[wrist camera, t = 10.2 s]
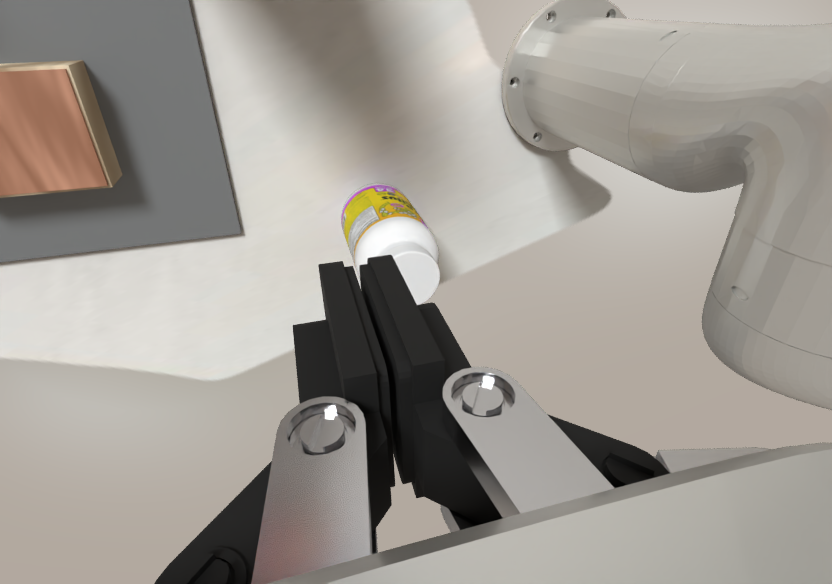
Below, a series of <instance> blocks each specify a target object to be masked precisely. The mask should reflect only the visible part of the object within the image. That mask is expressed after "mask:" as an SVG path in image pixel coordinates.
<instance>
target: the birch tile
mask: <svg viewBox="0 0 832 584" xmlns="http://www.w3.org/2000/svg"><path fill="white" fill-rule="evenodd" d="M121 176H122V172H121V169H120V166H119V163H118V160H117V157H116V154H115V151H114V149H113V146H112V143H111V140H110V137H109V134H108V131H107V128H106V125H105V122H104V120H103V117H102V114H101V111H100V108H99V105H98V102H97V99H96V96H95V93H94V91H93V88H92V85H91V82H90V79H89V76H88V73H87V70H86V67H85V64H84V61H83V60H77V61H53V62H29V63H5V64H0V198H4V197H15V196H26V195H36V194H47V193H57V192H68V191H79V190H89V189H100V188H110V187H113V186H114V185H115V184H116V182H117V181H118V180H119V179H120V177H121Z"/></svg>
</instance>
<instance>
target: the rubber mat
mask: <svg viewBox="0 0 832 584" xmlns="http://www.w3.org/2000/svg"><path fill="white" fill-rule="evenodd" d="M77 60H83V61H84V64H85V67H86V70H87V73H88V76H89V79H90V82H91V85H92V88H93V91H94V93H95V96H96V99H97V102H98V105H99V108H100V111H101V114H102V117H103V120H104V122H105V125H106V128H107V131H108V134H109V137H110V140H111V143H112V146H113V149H114V151H115V154H116V157H117V160H118V163H119V166H120V169H121V172H122V176H121V177H120V179H119V180H118V181H117V182H116V184H115V185H114V186H113V187H110V188H100V189H89V190H79V191H68V192H57V193H47V194H36V195H26V196H15V197H4V198H0V262H8V261H16V260H25V259H33V258H41V257H50V256H58V255H66V254H75V253H83V252H92V251H100V250H108V249H117V248H125V247H133V246H142V245H150V244H158V243H167V242H175V241H183V240H192V239H200V238H209V237H217V236H225V235H234V234H241V228H240V223H239V219H238V214H237V210H236V206H235V201H234V197H233V192H232V188H231V183H230V179H229V175H228V170H227V166H226V161H225V157H224V152H223V148H222V144H221V139H220V135H219V130H218V126H217V121H216V117H215V113H214V108H213V104H212V99H211V95H210V90H209V86H208V82H207V77H206V73H205V68H204V64H203V59H202V55H201V51H200V46H199V42H198V37H197V33H196V29H195V24H194V20H193V15H192V11H191V6H190V2H189V0H0V64H5V63H29V62H53V61H77Z"/></svg>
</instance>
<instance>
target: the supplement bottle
mask: <svg viewBox="0 0 832 584" xmlns="http://www.w3.org/2000/svg"><path fill="white" fill-rule="evenodd" d="M341 224H342V229H343V232H344V235H345V238H346V241H347V244H348V247H349V250H350V252H351V255H352V258H353V261H354V264H355V267H356V270H357V273H358V275H359V277H360V270H359V266H360V265H364V264H367V259H368V258H370V257H377V256H384V255H392V256H393V258H394V260H395V262H396V264H397V266H398V268H399V270H400V272H401V274H402V276H403V278H404V280H405V282H406V284H407V286H408V288H409V290H410V292H411V294H412V296H413V298H414V300H415V302H416V304H417V305H420V304H423V303H424V302H426V301H427V300H428V299H429V298H430V297H431V296H432V295H433V294H434V293H435V291H436V289H437V287H438V285H439V281H440V271H439V267H438V259H439V250H438V245H437V242H436V240H435V238H434V236H433V234H432V233H431V231H430V230H429V229H428V227H427V226H426V225H425V223H424V222H423V220H422V219H421V217H420V216H419V215H418V213H417V212H416V210H415V209H414V208H413V206H412V205H411V203H410V202H409V201H408V199H407V198H406V197H405V196H404V194H403V193H402V192H400V191H399V190H398V189H396V188H394V187H392V186H390V185H387V184H380V183H377V184H369V185H366V186H363V187H361V188H359V189H358V190H356V191H355V192H354V193H353V194H351V196H350V197H349V198H348V200H347V201H346V203H345V205H344V207H343V210H342V215H341Z"/></svg>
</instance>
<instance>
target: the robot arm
mask: <svg viewBox="0 0 832 584" xmlns="http://www.w3.org/2000/svg"><path fill="white" fill-rule="evenodd" d="M547 14H548V16H549V17H548V19H547V18H546V17H547ZM606 15H607V16H606ZM511 79H513V81H512V83H511V84H510V81H511ZM502 100H503V105H504V109H505V113H506V115H507V118H508V120H509V122H510V124H511V126H512V127H513V128H514V130H515V131H516V132H517V134H518V135H519V136H521V137H522V138H523V139H524V140H525V141H527V142H528V143H530V144H532V145H534V146H536V147H538V148H541V149H544V150H549V151H564V150H570V149H573V148H576V147H580V148H583V149H585V150H587V151H589V152H591V153H593V154H595V155H598V156H600V157H602V158H604V159H606V160H608V161H611V162H613V163H615V164H617V165H619V166H621V167H623V168H626V169H628V170H630V171H632V172H634V173H636V174H638V175H641V176H643V177H645V178H647V179H649V180H651V181H654V182H656V183H658V184H661V185H663V186H665V187H668V188H671V189H674V190H677V191H683V192H691V193H692V192H693V193H696V192H697V193H699V192H711V191H717V190H721V189H726V188H730V187H733V186H736V185H739V184H742V183H744V184H743V188H742V191H741V194H740V198H739V201H738V204H737V207H736V210H735V216H734V219H733V222H732V225H731V228H730V230H729V234H728V236H727V239H726V242H725V245H724V247H723V250H722V253H721V256H720V259H719V262H718V264H717V267H716V270H715V272H714V275H713V278H712V281H711V285H710V288H709V291H708V293H707V297H706V301H705V304H704V309H703V315H702V329H703V333H704V337H705V339H706V341H707V344H708V346H709V347H710V349H711V350H712V352H713V353H714V354H715V355H716V356H717V357H718V359H719V360H721V361H722V362H723V363H724V364H725V365H726V366H728V367H729V368H730V369H732V370H733V371H734V372H736V373H738V374H739V375H741V376H743V377H744V378H746V379H748V380H750V381H752V382H754V383H756V384H758V385H760V386H762V387H764V388H766V389H769V390H771V391H774V392H777V393H779V394H782V395H785V396H787V397H790V398H793V399H796V400H799V401H802V402H805V403H809V404H812V405H816V406H819V407H822V408H826V409H830V410H832V23H830V24H815V25H742V24H718V23H699V22H679V21H661V20H643V19H627V18H626V16H625V15H624V14H623V13H622V11H621V10H620V9H619V8H618V7H617V6H616V5H615V4H613V3H612V2H610V1H609V0H554V1H552V2H551V3H549V4H547V5H545V6H544V7H543V8H541V9H540V10H539V11H537V12H536V13H535V14H534V15H533V16H532V17H531V18H530V19H529V20H528V21H527V22H526V24H525V25H524V26H523V27H522V29H521V30H520V32H519V33H518V35H517V36H516V38H515V39H514V41H513V44H512V46H511V48H510V50H509V53H508V55H507V58H506V62H505V66H504V69H503V77H502ZM534 134H535V136H534ZM359 270H360V281H361V289H360V286H359V283H358V280H357V277H356V274H355V271H354V268H353V266H349V267H344V264H343V261H340V262H333V263H326V264H319V273H320V280H321V287H322V294H323V302H324V309H325V316H326V320H322V321H316V322H310V323H304V324H297V325H293V334H294V345H295V356H296V366H297V378H298V389H299V400H300V404H299V405H297V406H296V407H294V408H293V409H292V410H290V411H289V412H288V413H287V414H286V415H285V417H284V418H283V419H282V420H281V422H280V425H279V427H278V430H277V434H276V440H275V446H274V452H273V458H272V461H271V462H270V463H269V465H267V466H266V467H265V468H264V470H262V471H261V472H260V473H259V474H258V475H257V476H256V477H255V478H254V480H252V482H251V483H250V484H249V485H248V486H247V487H246V488H245V489H244V490H243V491H242V492H241V493H240V494H239V495H238V496H237V497H236V498H235V499H234V500H233V501H232V502H231V503H230V504H229V505H228V506H227V507H226V508H225V509H224V510H223V511H222V512H221V513H220V514H219V515H218V516H217V517H216V518H215V519H214V520H213V521H212V522H211V523H210V524H209V525H208V526H207V527H206V528H205V529H204V530H203V531H202V532H201V533H200V534H199V535H198V536H197V537H196V538H195V539H194V540H193V541H192V542H191V543H190V544H189V545H188V546H187V547H186V548H185V549H184V550H183V551H182V552H181V553H180V554H179V555H178V556H177V557H176V558H175V559H174V560H173V561H172V562H171V563H170V564H169V565H168V566H167V568H166V569H165V570H164V571H163V573H162V574H161V575H160V576H159V578H158V579H157V580H156V582H155V584H832V443H816V444H807V445H799V446H789V447H782V448H777V449H766V448H757V447H752V448H717V449H685V450H684V449H683V450H658V452H657V455H656V457H653V456H652V455H650V454H648V452H645V451H643V450H641V449H639V448H637V447H635V446H633V445H630V444H627V443H624V442H622V441H619V440H616V439H613V438H611V437H608V436H605V435H602V434H600V433H597V432H594V431H591V430H589V429H586V428H583V427H580V426H578V425H575V424H572V423H569V422H567V421H564V420H561V419H558V418H555V417H553V416H550V415H547V414H546V413H545V412H544V411H543V409H542V408H541V407H540V406H539V405H538V404H537V403H536V402H535V401H534V399H533V398H532V397H531V396H530V395H529V394H528V393H527V392H526V391H525V390H524V389H523V387H521V385H520V384H519V383H518V382H517V381H516V380H514V379H513V378H512V377H511V376H510V375H508V374H506V373H504V372H502V371H500V370H497V369H493V368H488V367H471V366H470V364H469V362H468V361H467V359H466V357H465V355H464V353H463V352H462V350H461V348H460V346H459V344H458V343H457V341H456V339H455V337H454V336H453V334H452V332H451V330H450V329H449V327H448V325H447V323H446V322H445V320H444V318H443V316H442V314H441V313H440V311H439V309H438V308H437V306H436V305H435V303H427V304H420V305H417V304H416V302H415V300H414V298H413V296H412V294H411V292H410V290H409V288H408V286H407V284H406V282H405V280H404V278H403V276H402V274H401V272H400V270H399V268H398V266H397V264H396V262H395V260H394V258H393V256H392V255H384V256H377V257H370V258H368V259H367V264H364V265H360V266H359ZM393 454H394V457H395V461H396V464H397V467H398V471H399V474H400V478H401V481H402V483H403V484H406V483H410V482H412V485H413V489H414V492H415V495H416V498H419V497H426V498H428V499H430V500H432V501H434V502H436V503H438V504H440V505H441V512H442V515H443V518H444V520H445V522H446V524H447V526H448V528H449V529H450V532H451V533H448V534H445V535H441V536H437V537H434V538H430V539H427V540H423V541H419V542H415V543H412V544H408V545H405V546H401V547H397V548H394V549H390V550H386V551H383V552H379V553H378V550H377V549H378V548H377V534H376V533H377V532H376V527H377V526H378V524H379V523H380V521H381V520H382V518H383V517H384V515H385V514H386V512H387V511H388V509H389V508H390V506H391V491H390V490H391V489H390V487H394V486H395V475H394V458H393Z"/></svg>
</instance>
